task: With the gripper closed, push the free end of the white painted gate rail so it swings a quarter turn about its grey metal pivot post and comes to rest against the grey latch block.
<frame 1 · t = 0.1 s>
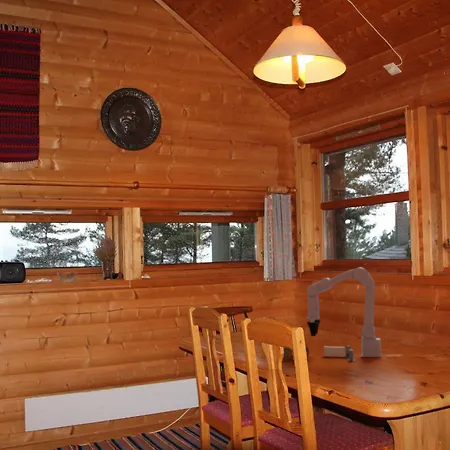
hand: (314, 335, 316), 10 cm above the table, tool pointing down, fingers open, 7 cm apart
gate: (334, 351, 309), point 3 cm above the table, hinge at 0.0°
latch block: (351, 360, 297), on the table
pivot post: (348, 357, 307), on the table
tin: (294, 360, 302), on the table
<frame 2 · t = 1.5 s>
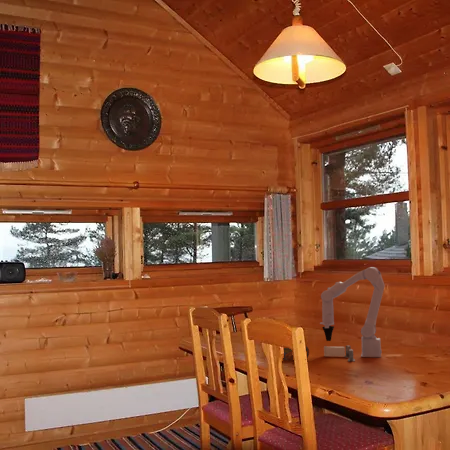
hand: (328, 340, 316), 7 cm above the table, tool pointing down, fingers closed
nothing on the table moved.
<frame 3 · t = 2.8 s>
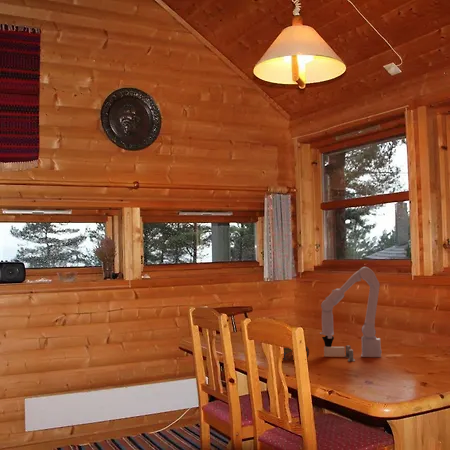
hand: (328, 351, 311), 2 cm above the table, tool pointing down, fingers closed
gate: (334, 351, 309), point 3 cm above the table, hinge at 1.7°, touching gripper
everything else where it was.
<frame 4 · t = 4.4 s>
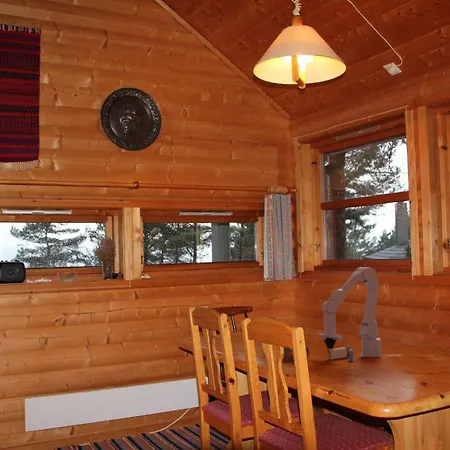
hand: (330, 353, 303), 2 cm above the table, tool pointing down, fingers closed
gate: (337, 352, 304), point 3 cm above the table, hinge at 46.8°, touching gripper
everything else where it was.
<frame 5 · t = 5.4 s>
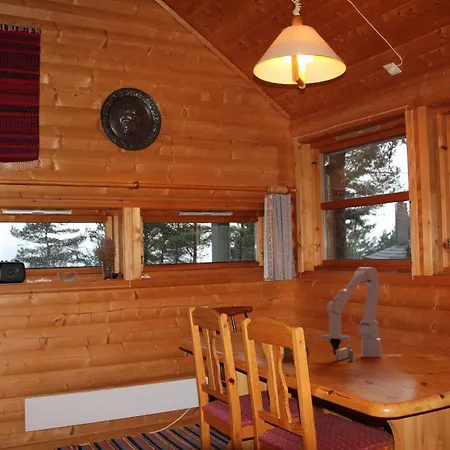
hand: (335, 354, 300), 2 cm above the table, tool pointing down, fingers closed
gate: (342, 353, 302), point 3 cm above the table, hinge at 69.3°, touching gripper
everything else where it was.
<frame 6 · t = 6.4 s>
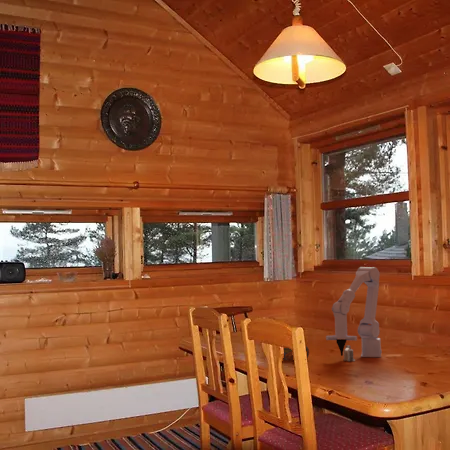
hand: (341, 355, 298), 2 cm above the table, tool pointing down, fingers closed
gate: (346, 353, 301), point 3 cm above the table, hinge at 88.4°, touching gripper, latch block
everything else where it was.
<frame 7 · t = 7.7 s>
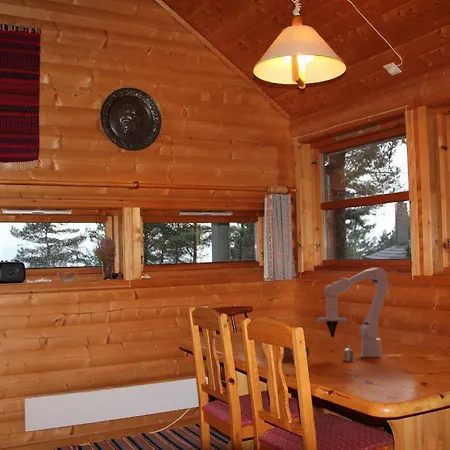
hand: (332, 336, 305), 10 cm above the table, tool pointing down, fingers closed
gate: (346, 353, 301), point 3 cm above the table, hinge at 88.6°, touching latch block
everything else where it was.
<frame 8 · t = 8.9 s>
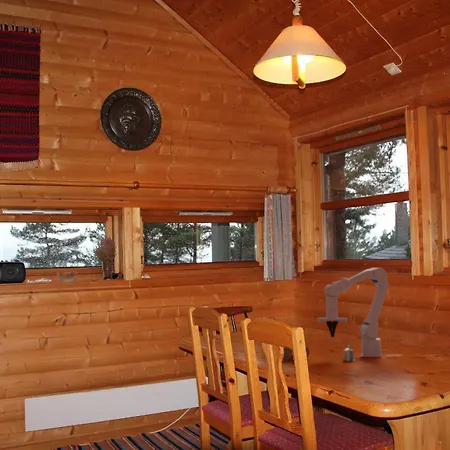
hand: (332, 336, 305), 10 cm above the table, tool pointing down, fingers closed
nothing on the table moved.
at the end: gate at +89° (first picture: +0°) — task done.
